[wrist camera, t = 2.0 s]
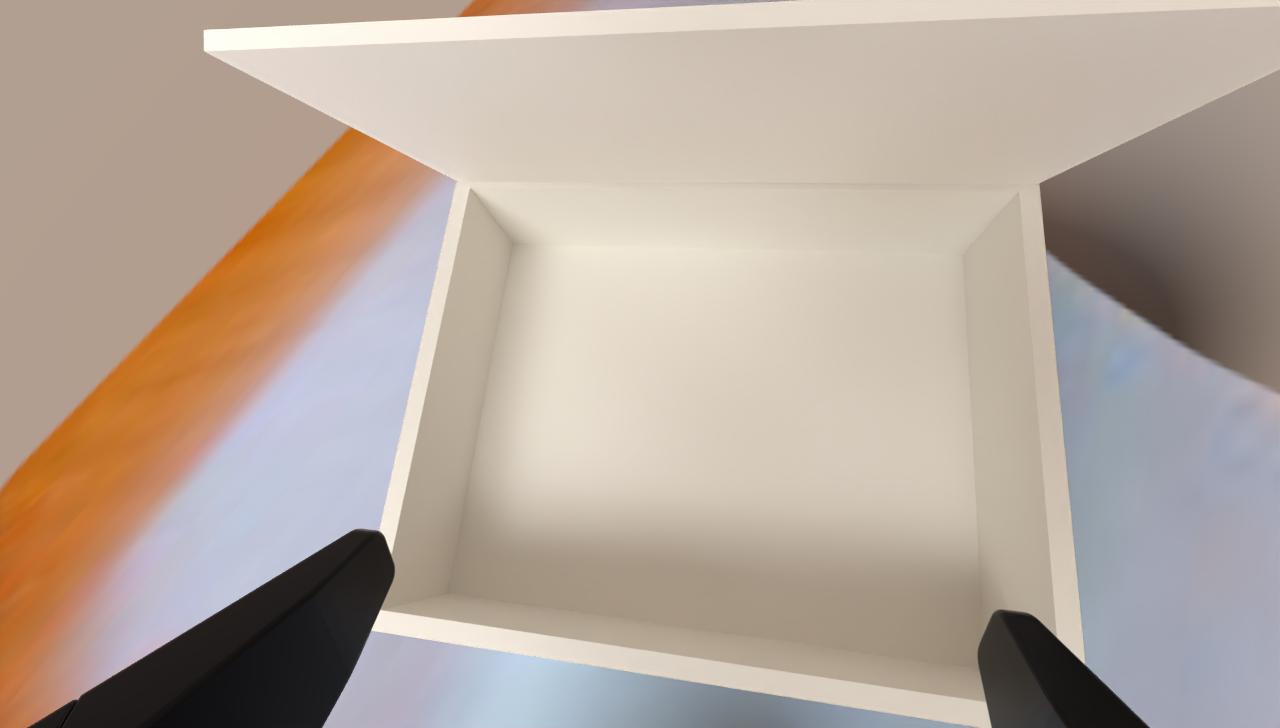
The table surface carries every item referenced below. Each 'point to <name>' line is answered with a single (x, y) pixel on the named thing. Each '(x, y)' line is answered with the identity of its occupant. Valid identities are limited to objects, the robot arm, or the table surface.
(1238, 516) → the table surface
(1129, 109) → the box flap
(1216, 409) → the table surface
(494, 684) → the table surface
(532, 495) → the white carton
